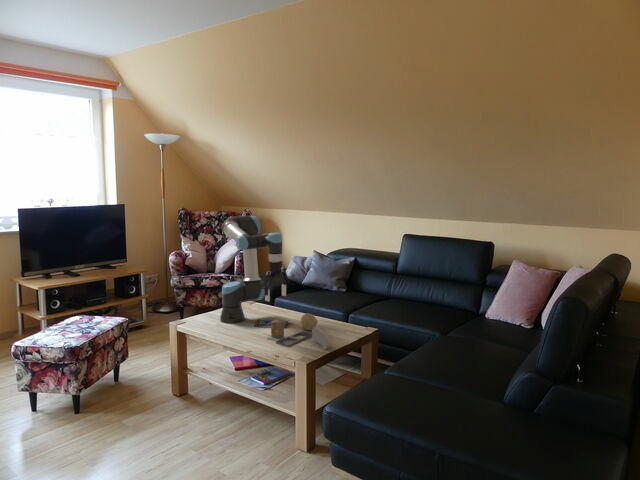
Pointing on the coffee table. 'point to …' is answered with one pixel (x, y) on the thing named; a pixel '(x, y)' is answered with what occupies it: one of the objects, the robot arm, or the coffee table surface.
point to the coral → (308, 321)
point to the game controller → (321, 337)
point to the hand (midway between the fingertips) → (275, 298)
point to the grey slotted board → (294, 338)
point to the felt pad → (276, 339)
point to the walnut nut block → (277, 329)
